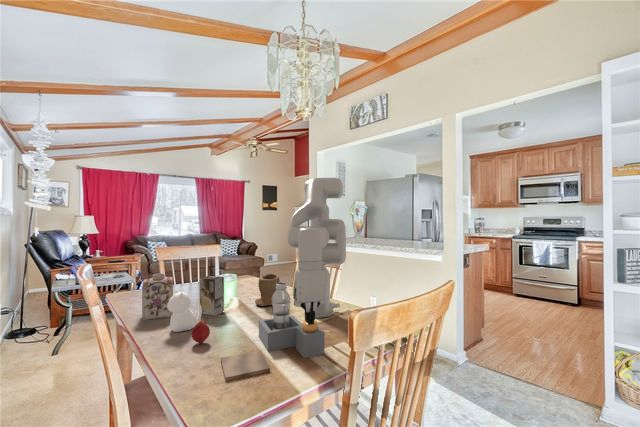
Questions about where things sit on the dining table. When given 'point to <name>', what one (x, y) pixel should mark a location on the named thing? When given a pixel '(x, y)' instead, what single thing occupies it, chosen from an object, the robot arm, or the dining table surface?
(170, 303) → the cat figurine
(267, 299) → the stone cup
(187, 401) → the dining table surface
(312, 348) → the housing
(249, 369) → the pad
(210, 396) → the dining table surface
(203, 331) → the onion
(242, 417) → the dining table surface
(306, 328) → the orange egg-shaped ball
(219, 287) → the coffee box
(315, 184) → the robot arm
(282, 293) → the plastic bottle
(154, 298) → the decorative jar
